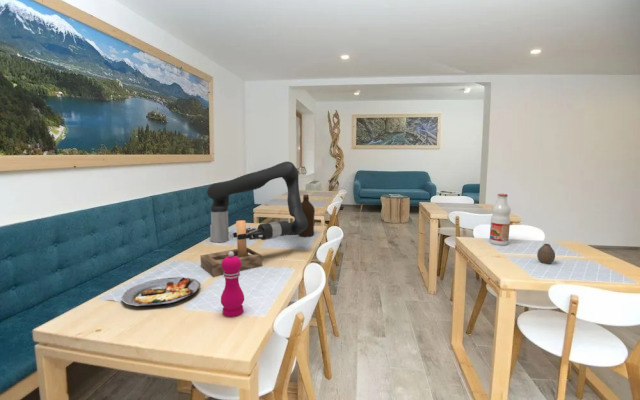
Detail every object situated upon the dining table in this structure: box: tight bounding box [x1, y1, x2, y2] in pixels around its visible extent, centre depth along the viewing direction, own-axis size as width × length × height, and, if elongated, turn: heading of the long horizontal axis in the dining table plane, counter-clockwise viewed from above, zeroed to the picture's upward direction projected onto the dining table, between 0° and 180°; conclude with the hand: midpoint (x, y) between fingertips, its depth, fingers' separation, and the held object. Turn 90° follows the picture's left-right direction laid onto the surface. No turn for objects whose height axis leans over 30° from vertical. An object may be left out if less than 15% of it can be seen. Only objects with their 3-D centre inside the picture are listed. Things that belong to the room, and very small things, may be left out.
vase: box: [536, 243, 556, 265], centre depth 156 cm, size 7×7×9 cm
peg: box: [235, 219, 251, 258], centre depth 152 cm, size 8×8×18 cm
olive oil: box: [298, 194, 315, 238], centre depth 206 cm, size 11×11×25 cm
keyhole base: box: [200, 247, 263, 278], centre depth 150 cm, size 22×16×5 cm
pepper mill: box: [220, 251, 245, 318], centre depth 106 cm, size 7×7×20 cm
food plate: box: [120, 276, 201, 307], centre depth 120 cm, size 25×23×4 cm
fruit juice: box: [489, 193, 512, 246], centre depth 188 cm, size 9×9×28 cm
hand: (235, 236), depth 150 cm, fingers closed on peg, 4 cm apart
